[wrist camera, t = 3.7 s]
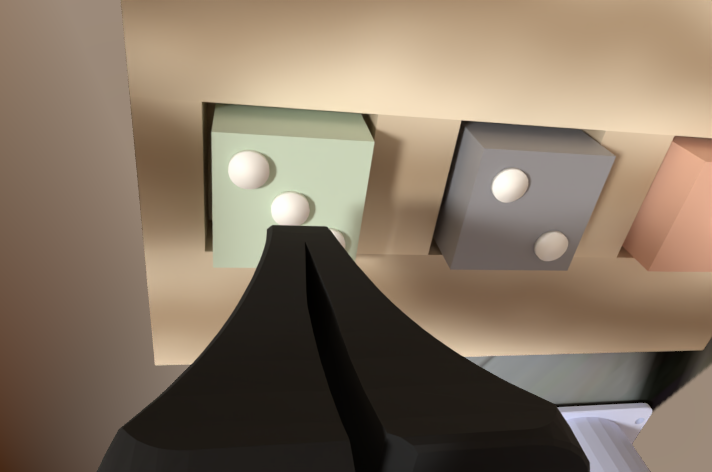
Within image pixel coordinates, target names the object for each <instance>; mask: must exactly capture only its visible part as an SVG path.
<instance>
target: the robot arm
mask: <svg viewBox="0 0 712 472" xmlns="http://www.w3.org/2000/svg"><path fill="white" fill-rule="evenodd" d="M651 414H652V409H651V407H650V406H649V405H648V404H647V403H629V404H609V405H590V406H570V407H556V405H555V404H553V403H551V402H549V401H547V400H545V399H542V398H540V397H538V396H536V395H534V394H532V393H530V392H528V391H525V390H523V389H521V388H519V387H517V386H515V385H513V384H511V383H508V382H507V381H505V380H503V379H501V378H499V377H497V376H496V375H494V374H492V373H490V372H488V371H487V370H485V369H483V368H481V367H479V366H478V365H476V364H474V363H473V362H471V361H469V360H468V359H466V358H465V357H463V356H461V355H460V354H458V353H457V352H455V351H454V350H452V349H451V348H449V347H448V346H446V345H445V344H444V343H442V342H441V341H439V340H438V339H436V338H435V337H433V336H432V335H431V334H429V333H428V332H427V331H425V330H424V329H423V328H422V327H420V326H419V325H418V324H417V323H416V322H414V321H413V320H412V319H411V318H409V317H408V316H407V315H406V314H405V313H403V312H402V311H401V310H400V309H399V308H398V307H397V306H396V305H394V304H393V303H392V302H391V301H390V300H389V299H388V298H387V297H386V296H385V295H384V294H383V293H382V292H381V291H380V290H379V289H378V288H377V286H376V285H375V284H374V283H373V282H372V281H371V280H370V279H369V278H368V276H367V275H366V274H365V273H364V272H363V271H362V270H361V268H360V267H359V266H358V265H357V264H356V263H355V261H354V260H353V259H352V258H351V256H350V255H349V254H348V253H347V251H346V250H345V249H344V247H343V246H342V245H341V243H340V242H339V241H338V240H337V238H336V237H335V235H334V234H333V233H332V231H331V230H330V229H329V228H328V227H327V226H294V225H272V226H270V227H269V228H268V229H267V234H266V243H265V246H264V250H263V253H262V256H261V258H260V261H259V263H258V265H257V268H256V270H255V272H254V275H253V277H252V279H251V281H250V283H249V285H248V286H247V288H246V290H245V292H244V294H243V295H242V297H241V299H240V301H239V303H238V304H237V306H236V307H235V309H234V311H233V312H232V314H231V315H230V317H229V318H228V320H227V321H226V322H225V324H224V325H223V327H222V328H221V329H220V331H219V332H218V333H217V335H216V336H215V337H214V338H213V340H212V341H211V342H210V343H209V345H208V346H207V347H206V348H205V350H204V351H203V352H202V353H201V354H200V355H199V356H198V358H197V359H196V360H195V361H194V362H193V363H192V364H191V365H190V366H189V367H188V368H187V369H186V370H185V371H184V372H183V373H182V374H181V375H180V376H179V377H178V378H177V379H176V380H175V381H174V382H173V383H172V385H170V386H169V387H168V388H167V389H166V390H165V391H164V392H163V393H162V394H161V395H160V396H159V397H158V398H156V399H155V400H154V401H153V402H152V403H150V404H149V405H148V406H147V407H146V408H144V409H143V410H142V411H141V412H140V413H138V414H137V415H136V416H135V417H133V418H132V419H131V420H130V421H129V422H127V423H126V424H125V425H124V426H122V427H121V428H120V429H119V430H118V432H117V434H116V435H115V437H114V439H113V441H112V443H111V445H110V447H109V449H108V450H107V452H106V454H105V456H104V458H103V460H102V462H101V464H100V466H99V468H98V470H97V472H650V470H649V469H648V468H647V466H646V464H645V463H644V461H643V460H642V458H641V457H640V455H639V454H638V453H637V451H636V450H635V448H634V447H633V445H632V443H633V442H634V440H635V439H636V437H637V436H638V434H639V433H640V431H641V429H642V428H643V426H644V425H645V423H646V421H647V420H648V419H649V417H650V415H651Z"/></svg>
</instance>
